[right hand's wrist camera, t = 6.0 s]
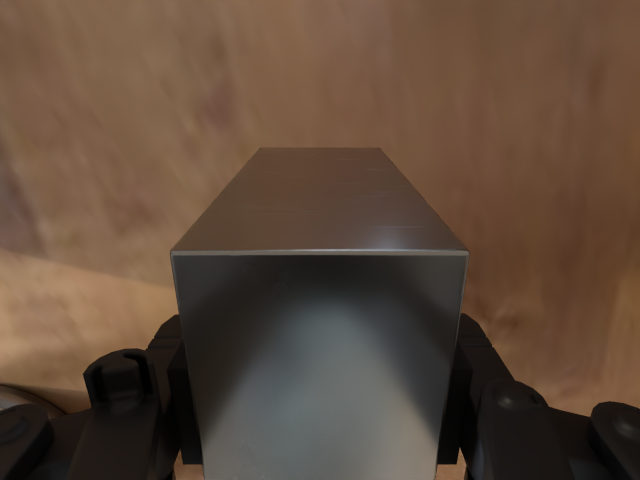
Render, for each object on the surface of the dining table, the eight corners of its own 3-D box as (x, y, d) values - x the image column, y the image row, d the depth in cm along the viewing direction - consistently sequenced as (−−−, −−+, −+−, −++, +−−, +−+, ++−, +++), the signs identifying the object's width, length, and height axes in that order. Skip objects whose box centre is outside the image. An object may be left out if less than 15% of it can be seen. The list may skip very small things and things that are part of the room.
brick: (370, 333, 19) (420, 585, 10) (269, 333, 19) (219, 585, 10) (381, 147, 16) (472, 250, 6) (258, 147, 16) (166, 251, 6)
